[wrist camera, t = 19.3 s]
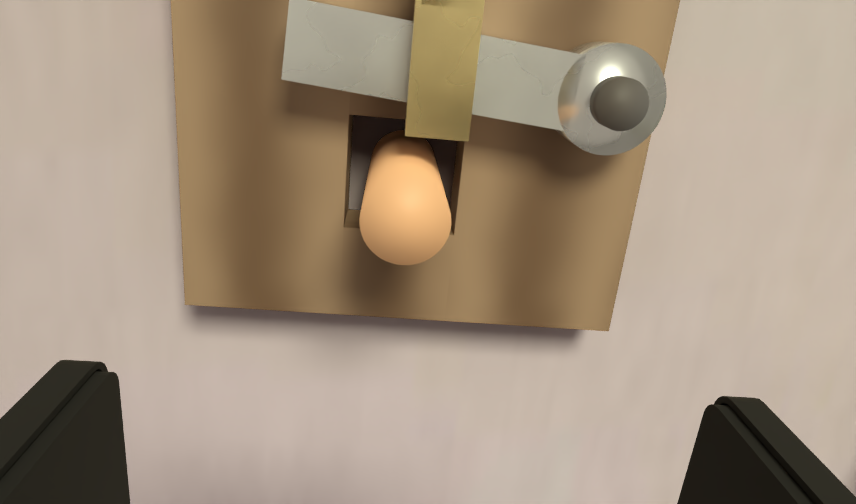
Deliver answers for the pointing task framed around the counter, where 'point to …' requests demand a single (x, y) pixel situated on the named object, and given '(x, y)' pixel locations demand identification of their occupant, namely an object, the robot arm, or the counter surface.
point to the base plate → (330, 177)
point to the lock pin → (404, 201)
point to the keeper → (443, 68)
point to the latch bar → (495, 78)
